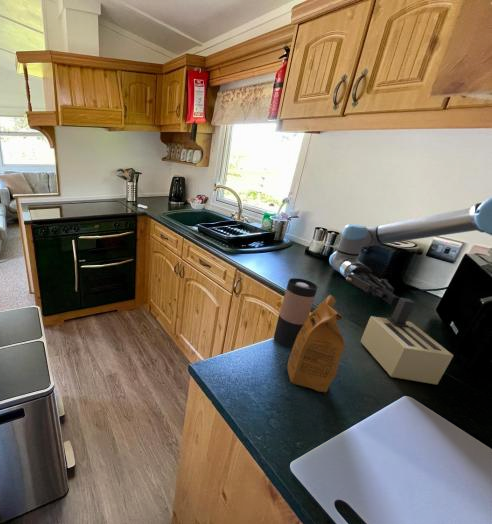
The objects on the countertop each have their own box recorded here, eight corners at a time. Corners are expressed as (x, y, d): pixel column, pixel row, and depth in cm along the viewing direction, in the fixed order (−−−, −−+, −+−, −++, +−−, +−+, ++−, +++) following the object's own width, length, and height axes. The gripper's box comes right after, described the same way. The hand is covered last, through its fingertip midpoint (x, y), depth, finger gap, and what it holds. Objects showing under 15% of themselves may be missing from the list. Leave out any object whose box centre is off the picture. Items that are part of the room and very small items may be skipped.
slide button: (386, 318, 87) (396, 296, 84) (399, 320, 86) (409, 297, 83) (394, 325, 83) (405, 302, 80) (408, 327, 83) (419, 304, 80)
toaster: (359, 342, 92) (370, 315, 88) (397, 348, 90) (410, 321, 87) (390, 378, 77) (405, 347, 74) (436, 386, 76) (454, 355, 72)
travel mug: (268, 333, 93) (283, 277, 86) (292, 335, 93) (309, 279, 86) (278, 348, 86) (295, 288, 79) (304, 350, 86) (323, 290, 79)
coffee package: (326, 369, 79) (353, 298, 71) (329, 400, 69) (361, 321, 61) (287, 355, 83) (308, 287, 75) (284, 383, 73) (308, 307, 65)
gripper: (371, 283, 109) (414, 315, 87) (334, 279, 111) (366, 309, 89) (378, 265, 106) (424, 293, 84) (340, 260, 108) (375, 287, 86)
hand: (394, 301), depth 87 cm, fingers closed
